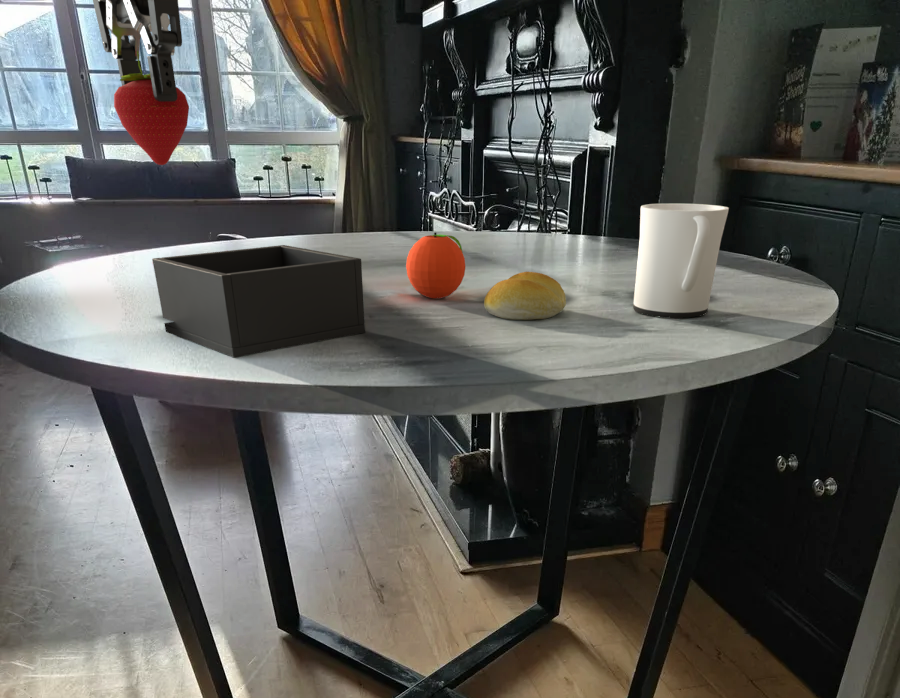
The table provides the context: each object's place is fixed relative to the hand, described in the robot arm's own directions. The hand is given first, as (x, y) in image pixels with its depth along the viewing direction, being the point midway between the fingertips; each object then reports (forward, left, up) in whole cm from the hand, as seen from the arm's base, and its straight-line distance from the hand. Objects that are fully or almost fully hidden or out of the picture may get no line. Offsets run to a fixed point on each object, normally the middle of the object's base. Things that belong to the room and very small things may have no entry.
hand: (151, 101), depth 80 cm
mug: (+37, -42, -20) cm, 59 cm away
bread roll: (+25, -31, -20) cm, 44 cm away
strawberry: (0, 0, -6) cm, 6 cm away
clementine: (+24, -18, -20) cm, 36 cm away
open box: (-1, -20, -20) cm, 28 cm away
